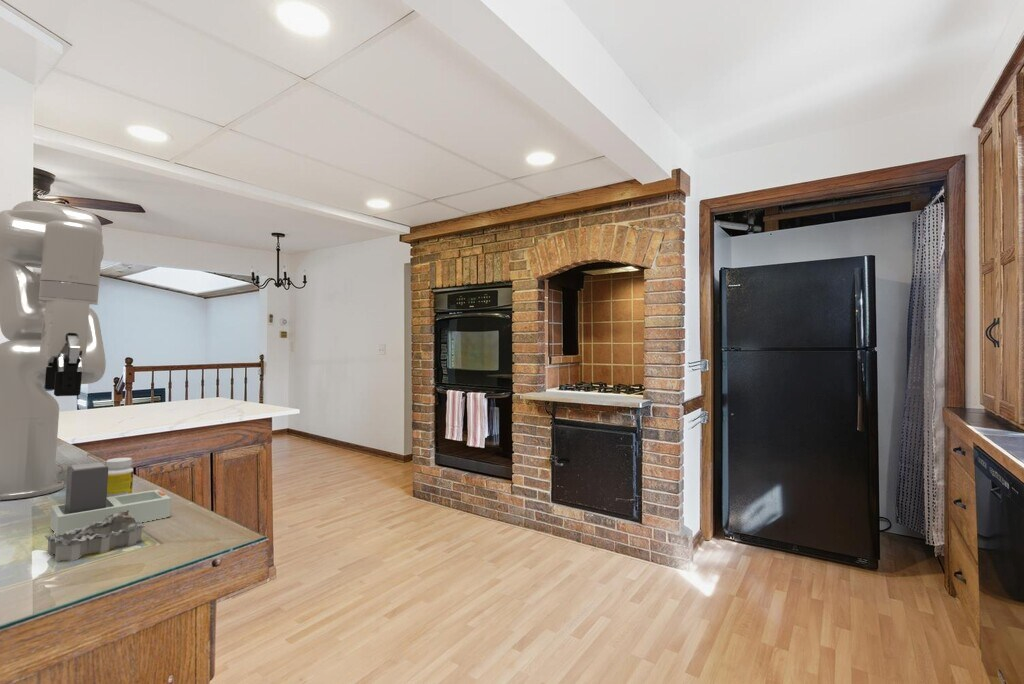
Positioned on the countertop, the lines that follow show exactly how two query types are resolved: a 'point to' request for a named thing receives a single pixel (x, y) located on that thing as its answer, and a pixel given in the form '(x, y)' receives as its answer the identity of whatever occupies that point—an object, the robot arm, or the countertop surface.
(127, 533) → the egg carton
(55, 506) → the power strip
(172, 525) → the countertop surface
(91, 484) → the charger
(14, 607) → the countertop surface
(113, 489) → the supplement bottle
